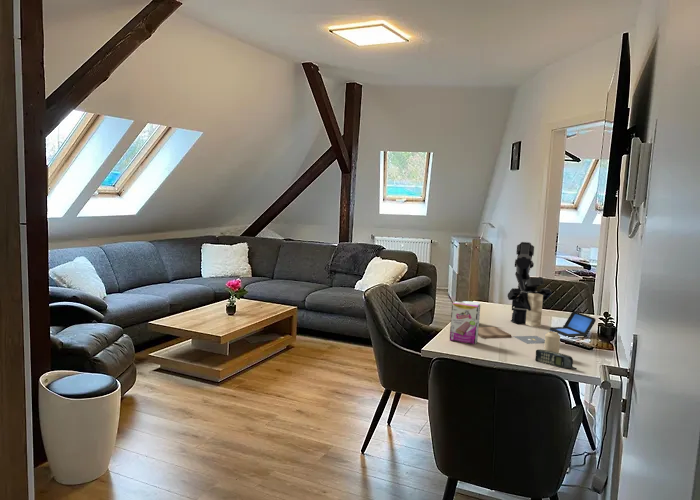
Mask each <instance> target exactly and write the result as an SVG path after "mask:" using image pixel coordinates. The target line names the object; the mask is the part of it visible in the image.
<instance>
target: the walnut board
mask: <svg viewBox="0 0 700 500" xmlns="http://www.w3.org/2000/svg"><path fill="white" fill-rule="evenodd" d="M478 337H479V338H481V339H499V338H500V339H501V338H502V339H503V338H512V334H510V333H509V332H506V331H505V330H502V329H500V328H499V327H496V326H484V327H483V326H482V327H481V326H479V327H478Z"/></svg>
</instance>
